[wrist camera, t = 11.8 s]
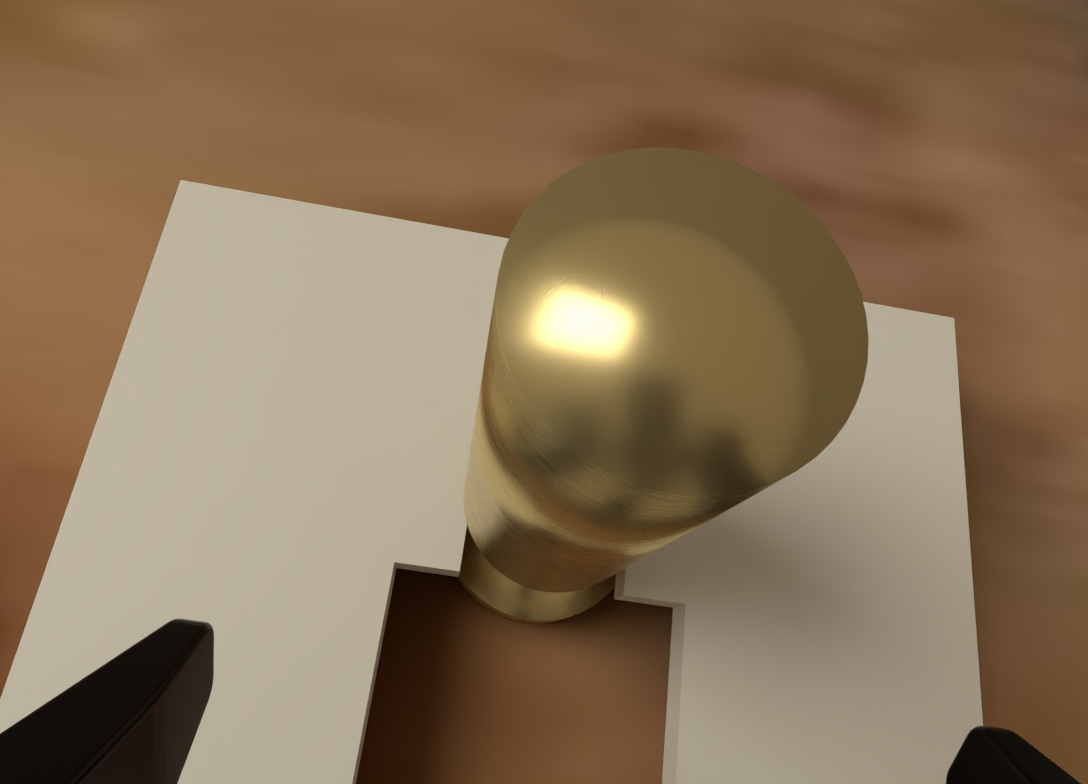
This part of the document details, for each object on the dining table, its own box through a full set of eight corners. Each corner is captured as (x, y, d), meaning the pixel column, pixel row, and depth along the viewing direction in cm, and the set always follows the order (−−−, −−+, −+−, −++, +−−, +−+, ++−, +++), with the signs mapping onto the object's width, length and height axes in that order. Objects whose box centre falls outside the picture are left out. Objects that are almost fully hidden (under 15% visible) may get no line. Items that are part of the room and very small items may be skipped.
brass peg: (660, 513, 21) (975, 286, 9) (554, 664, 19) (759, 644, 7) (519, 404, 21) (631, 49, 9) (403, 543, 20) (355, 329, 8)
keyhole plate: (916, 1004, 18) (1007, 1066, 15) (1, 908, 16) (-90, 957, 13) (891, 360, 23) (954, 318, 21) (213, 243, 22) (180, 179, 19)
